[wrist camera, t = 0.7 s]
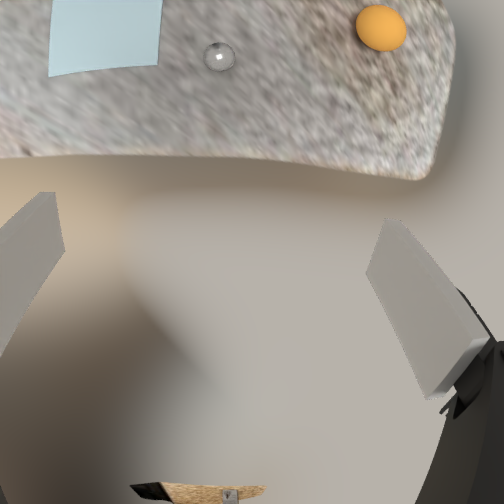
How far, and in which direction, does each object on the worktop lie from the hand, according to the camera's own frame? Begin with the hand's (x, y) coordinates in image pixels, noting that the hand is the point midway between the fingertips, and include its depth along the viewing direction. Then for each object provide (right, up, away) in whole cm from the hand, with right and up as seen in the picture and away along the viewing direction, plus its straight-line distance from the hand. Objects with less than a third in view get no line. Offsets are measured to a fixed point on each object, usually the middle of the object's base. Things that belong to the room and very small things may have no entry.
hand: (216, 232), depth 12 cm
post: (-2, +20, +18) cm, 26 cm away
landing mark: (-15, +26, +13) cm, 32 cm away
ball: (+15, +23, +13) cm, 30 cm away
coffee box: (-8, -104, +98) cm, 143 cm away
